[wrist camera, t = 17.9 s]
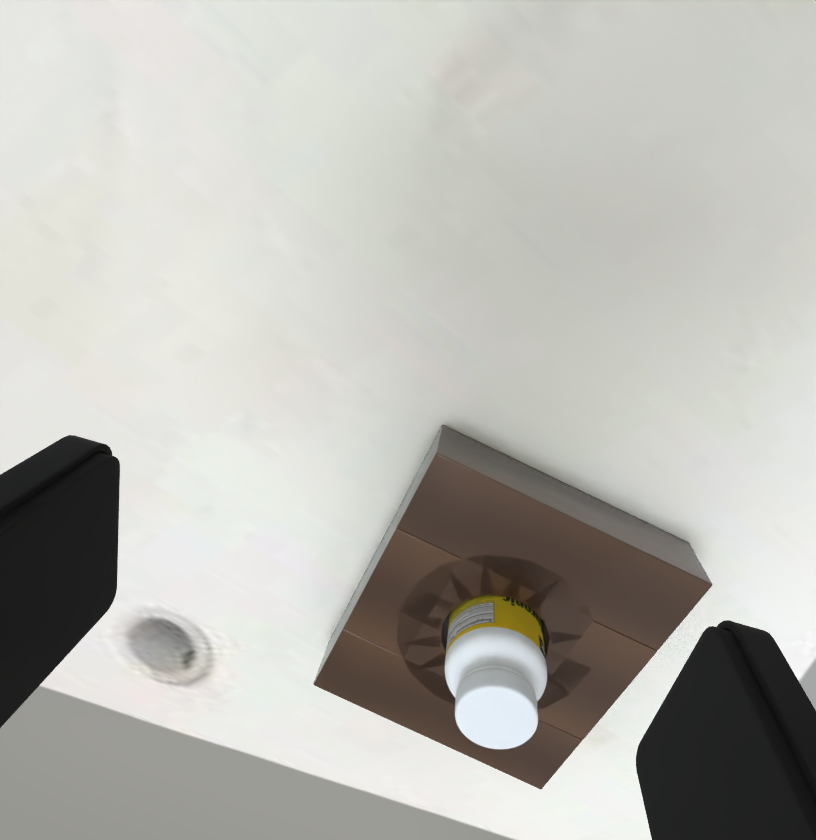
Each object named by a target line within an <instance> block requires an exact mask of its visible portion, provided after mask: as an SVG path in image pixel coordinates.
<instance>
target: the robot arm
mask: <svg viewBox="0 0 816 840" xmlns="http://www.w3.org/2000/svg"><path fill="white" fill-rule="evenodd" d="M119 478H120V464H119V460H118V459H117V458H116V457H114V456H112V451H111V449H110V447H109V446H107V445H106V444H102V443H98V442H95V441H91V440H88V439H84V438H81V437H77V436H71V435H69V436H66V437H64V438H62V439H60V440H59V441H57V442H55V443H53V444H52V445H50V446H48V447H47V448H45V449H43V450H42V451H40V452H38V453H36V454H35V455H33V456H31V457H30V458H28V459H26V460H25V461H23V462H21V463H20V464H18V465H16V466H14V467H13V468H11V469H9V470H8V471H6V472H4V473H3V474H1V475H0V728H1V726H2V725H3V724H4V723H5V722H6V721H7V720H8V719H9V718H10V717H11V715H12V714H13V713H14V712H15V711H16V710H17V709H18V708H19V707H20V706H21V705H22V703H23V702H24V701H25V700H26V699H27V698H28V697H29V696H30V695H31V694H32V693H33V691H34V690H35V689H36V688H37V687H38V686H39V685H40V684H41V683H42V682H43V681H44V680H45V678H46V677H47V676H48V675H49V674H50V673H51V672H52V671H53V670H54V669H55V668H56V666H57V665H58V664H59V663H60V662H61V661H62V660H63V659H64V658H65V657H66V656H67V654H68V653H69V652H70V651H71V650H72V649H73V648H74V647H75V646H76V645H77V644H78V642H79V641H80V640H81V639H82V638H83V637H84V636H85V635H86V634H87V633H88V632H89V630H90V629H91V628H92V627H93V626H94V625H95V624H96V623H97V622H98V621H99V620H100V618H101V617H102V616H103V615H104V614H105V613H106V612H107V610H108V609H109V608H110V606H111V604H112V602H113V600H114V598H115V594H116V589H117V558H118V518H119ZM636 768H637V774H638V778H639V783H640V787H641V792H642V796H643V801H644V805H645V810H646V814H647V819H648V823H649V828H650V832H651V837H652V840H816V711H815V709H814V707H813V706H812V704H811V702H810V700H809V699H808V697H807V695H806V693H805V692H804V690H803V688H802V687H801V685H800V683H799V681H798V680H797V678H796V676H795V674H794V673H793V671H792V669H791V668H790V666H789V664H788V662H787V661H786V659H785V657H784V656H783V654H782V652H781V650H780V649H779V647H778V645H777V644H776V642H775V640H774V639H773V637H772V636H771V635H770V634H769V633H768V632H766V631H763V630H760V629H756V628H753V627H749V626H746V625H742V624H739V623H735V622H732V621H723V622H721V623H720V624H718V626H717V627H713V626H712V627H708V628H707V629H706V630H705V631H704V632H703V634H702V636H701V637H700V639H699V641H698V642H697V644H696V646H695V648H694V649H693V651H692V653H691V655H690V656H689V658H688V660H687V662H686V663H685V665H684V667H683V669H682V670H681V672H680V674H679V676H678V677H677V679H676V681H675V683H674V684H673V686H672V688H671V689H670V691H669V693H668V695H667V696H666V698H665V700H664V702H663V703H662V705H661V707H660V709H659V710H658V712H657V714H656V716H655V717H654V719H653V721H652V723H651V724H650V726H649V728H648V729H647V731H646V733H645V735H644V736H643V738H642V740H641V742H640V744H639V746H638V750H637V755H636Z"/></svg>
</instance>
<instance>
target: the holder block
mask: <svg viewBox="0 0 816 840" xmlns="http://www.w3.org/2000/svg"><path fill="white" fill-rule="evenodd" d="M711 586H712V583H711V581H710V579H709V578H708V576H707V574H706V572H705V570H704V569H703V567H702V565H701V563H700V562H699V560H698V558H697V556H696V555H695V553H694V551H693V549H692V547H691V546H690V544H689V543H688V542H686V541H683V540H681V539H679V538H677V537H675V536H673V535H671V534H669V533H667V532H665V531H663V530H661V529H658V528H656V527H654V526H652V525H650V524H648V523H646V522H644V521H642V520H640V519H638V518H636V517H633V516H631V515H629V514H627V513H625V512H623V511H621V510H619V509H617V508H615V507H613V506H610V505H608V504H606V503H604V502H602V501H600V500H598V499H596V498H594V497H592V496H590V495H588V494H585V493H583V492H581V491H579V490H577V489H575V488H573V487H571V486H569V485H567V484H565V483H562V482H560V481H558V480H556V479H554V478H552V477H550V476H548V475H546V474H544V473H542V472H540V471H537V470H535V469H533V468H531V467H529V466H527V465H525V464H523V463H521V462H519V461H517V460H514V459H512V458H510V457H508V456H506V455H504V454H502V453H500V452H498V451H496V450H494V449H492V448H489V447H487V446H485V445H483V444H481V443H479V442H477V441H475V440H473V439H471V438H469V437H467V436H464V435H462V434H460V433H458V432H456V431H454V430H452V429H450V428H448V427H446V426H442V427H441V429H440V430H439V432H438V434H437V436H436V438H435V440H434V442H433V444H432V446H431V448H430V450H429V451H428V453H427V455H426V457H425V459H424V461H423V463H422V465H421V467H420V469H419V471H418V472H417V474H416V476H415V478H414V480H413V482H412V484H411V486H410V488H409V490H408V492H407V494H406V495H405V497H404V499H403V501H402V503H401V505H400V507H399V509H398V510H397V512H396V514H395V516H394V518H393V520H392V522H391V524H390V526H389V528H388V530H387V531H386V533H385V535H384V537H383V539H382V541H381V543H380V545H379V547H378V549H377V551H376V552H375V554H374V556H373V558H372V560H371V562H370V564H369V566H368V568H367V570H366V572H365V573H364V575H363V577H362V579H361V581H360V583H359V585H358V587H357V589H356V591H355V593H354V595H353V596H352V598H351V600H350V602H349V604H348V606H347V608H346V610H345V612H344V614H343V616H342V617H341V619H340V621H339V623H338V625H337V627H336V629H335V631H334V633H333V635H332V637H331V638H330V640H329V643H328V646H327V649H326V651H325V654H324V657H323V659H322V662H321V665H320V667H319V670H318V673H317V676H316V678H315V681H314V685H315V686H317V687H319V688H321V689H323V690H326V691H328V692H330V693H332V694H334V695H337V696H339V697H341V698H343V699H345V700H347V701H350V702H352V703H354V704H356V705H358V706H360V707H363V708H365V709H367V710H369V711H371V712H374V713H376V714H378V715H380V716H382V717H384V718H387V719H389V720H391V721H393V722H395V723H398V724H400V725H402V726H404V727H406V728H408V729H411V730H413V731H415V732H417V733H419V734H421V735H424V736H426V737H428V738H430V739H432V740H435V741H437V742H439V743H441V744H443V745H445V746H448V747H450V748H452V749H454V750H456V751H458V752H461V753H463V754H465V755H467V756H469V757H472V758H474V759H476V760H478V761H480V762H482V763H485V764H487V765H489V766H491V767H493V768H495V769H498V770H500V771H502V772H504V773H506V774H509V775H511V776H513V777H515V778H517V779H519V780H522V781H524V782H526V783H528V784H530V785H532V786H535V787H537V788H539V789H542V788H543V787H544V785H545V784H546V783H547V782H548V781H549V779H550V778H551V777H552V776H553V775H554V773H555V772H556V771H557V770H558V769H559V767H560V766H561V765H562V764H563V763H564V762H565V760H566V759H567V758H568V757H569V756H570V754H571V753H572V752H573V751H574V750H575V748H576V747H577V746H578V745H579V744H580V742H581V741H582V739H584V738H585V737H586V736H587V734H588V733H589V732H590V731H591V730H592V728H593V727H594V726H595V725H596V724H597V722H598V721H599V720H600V719H601V718H602V716H603V715H604V714H605V713H606V712H607V710H608V709H609V708H610V707H611V706H612V705H613V703H614V702H615V701H616V700H617V699H618V697H619V696H620V695H621V694H622V693H623V691H624V690H625V689H626V688H627V687H628V685H629V684H630V683H631V682H632V681H633V679H634V678H635V677H636V676H637V675H638V674H639V672H640V671H641V670H642V669H643V668H644V666H645V665H646V664H647V663H648V662H649V660H650V659H651V658H652V657H653V656H654V654H655V653H656V652H657V650H658V649H659V648H660V647H661V646H662V645H663V643H664V642H665V641H666V640H667V639H668V637H669V636H670V635H671V634H672V633H673V632H674V630H675V629H676V628H677V627H678V626H679V624H680V623H681V622H682V621H683V620H684V618H685V617H686V616H687V615H688V614H689V612H690V611H691V610H692V609H693V608H694V606H695V605H696V604H697V603H698V602H699V600H700V599H701V598H702V597H703V596H704V595H705V593H706V592H707V591H708V590H709V589H710V587H711ZM485 595H494V596H503V597H510V598H512V599H514V600H517V601H519V602H521V603H523V604H525V605H527V606H529V607H530V608H531V609H532V610H533V611H534V612H535V613H536V614H537V615H538V616H539V617H540V618H541V623H542V631H543V640H544V648H545V656H546V663H547V683H546V687H545V690H544V693H543V694H542V696H541V698H540V699H539V700H538V701H537V711H538V725H537V728H536V731H535V733H534V734H533V735H532V737H531V738H530V739H529V740H528V741H526V742H525V743H523V744H522V745H519V746H517V747H514V748H510V749H491V748H487V747H483V746H480V745H478V744H476V743H474V742H472V741H471V740H469V739H468V738H467V737H466V736H465V735H464V734H463V733H462V732H461V730H460V729H459V727H458V725H457V723H456V719H455V699H456V698H455V697H454V696H453V694H452V693H451V691H450V689H449V687H448V685H447V682H446V678H445V657H446V648H447V637H448V627H449V617H450V612H451V610H452V609H454V608H455V607H457V606H458V605H460V604H461V603H463V602H465V601H466V600H468V599H471V598H476V597H480V596H485Z"/></svg>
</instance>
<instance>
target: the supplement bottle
mask: <svg viewBox="0 0 816 840" xmlns="http://www.w3.org/2000/svg"><path fill="white" fill-rule="evenodd" d="M445 678H446V682H447V685H448V687H449V689H450V691H451V693H452V694H453V696H454V697H455V698H456V699H455V719H456V723H457V725H458V727H459V729H460V730H461V732H462V733H463V734H464V735H465V736H466V737H467V738H468V739H469V740H471V741H472V742H474V743H476V744H478V745H480V746H483V747H487V748H491V749H510V748H514V747H517V746H519V745H522V744H523V743H525V742H526V741H528V740H529V739H530V738H531V737H532V735H533V734H534V733H535V731H536V728H537V725H538V711H537V701H538V700H539V699H540V698H541V696H542V694H543V693H544V690H545V687H546V683H547V663H546V656H545V648H544V640H543V631H542V623H541V618H540V617H539V616H538V615H537V614H536V613H535V612H534V611H533V610H532V609H531V608H530V607H529V606H527V605H525V604H523V603H521V602H519V601H517V600H514V599H512V598H510V597H503V596H494V595H485V596H480V597H476V598H471V599H468V600H466V601H465V602H463V603H461V604H460V605H458V606H457V607H455V608H454V609H452V610H451V612H450V617H449V627H448V637H447V648H446V657H445Z"/></svg>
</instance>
